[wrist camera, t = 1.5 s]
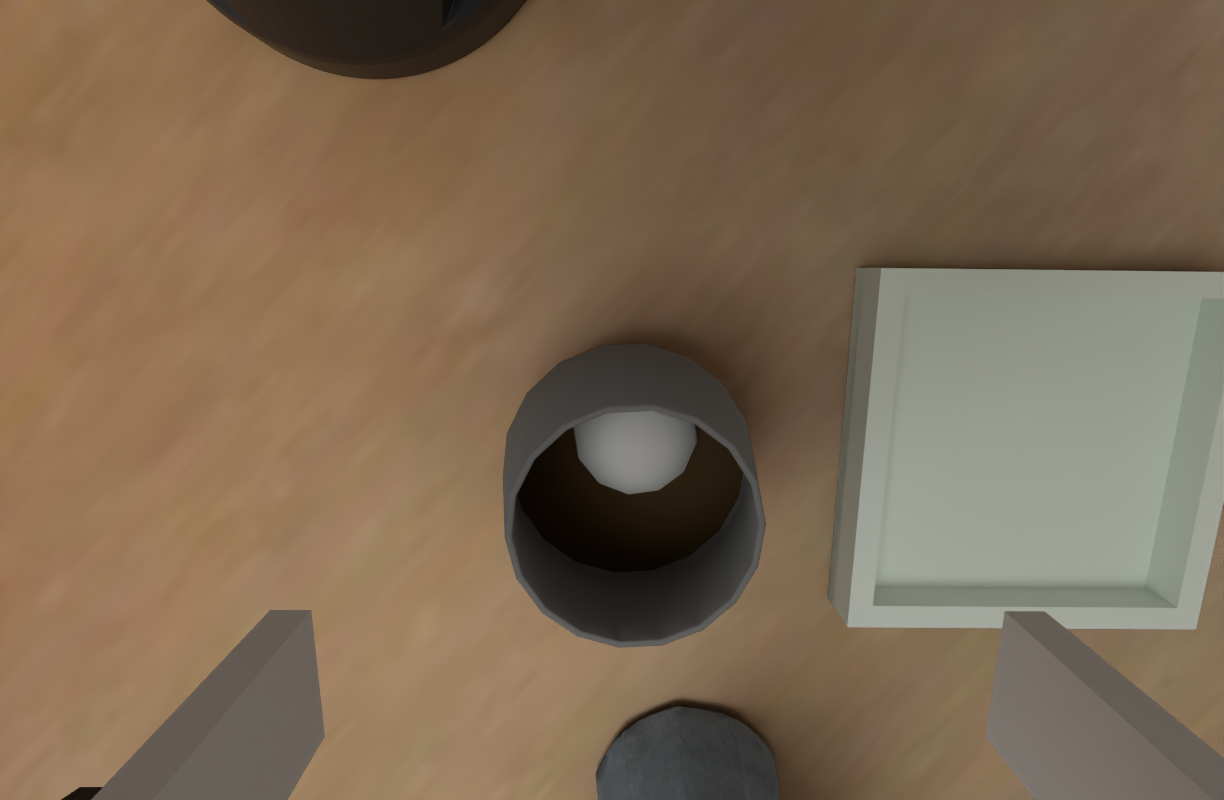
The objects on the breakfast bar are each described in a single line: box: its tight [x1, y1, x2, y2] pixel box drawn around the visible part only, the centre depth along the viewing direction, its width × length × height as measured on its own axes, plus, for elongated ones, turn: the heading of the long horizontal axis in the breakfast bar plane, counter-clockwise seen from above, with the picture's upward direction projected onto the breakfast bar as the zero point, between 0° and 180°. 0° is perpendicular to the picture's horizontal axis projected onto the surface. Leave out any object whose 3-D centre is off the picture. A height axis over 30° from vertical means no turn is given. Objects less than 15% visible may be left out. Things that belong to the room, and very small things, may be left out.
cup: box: [503, 343, 766, 648], centre depth 24 cm, size 10×9×10 cm
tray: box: [828, 268, 1224, 629], centre depth 27 cm, size 15×15×2 cm
